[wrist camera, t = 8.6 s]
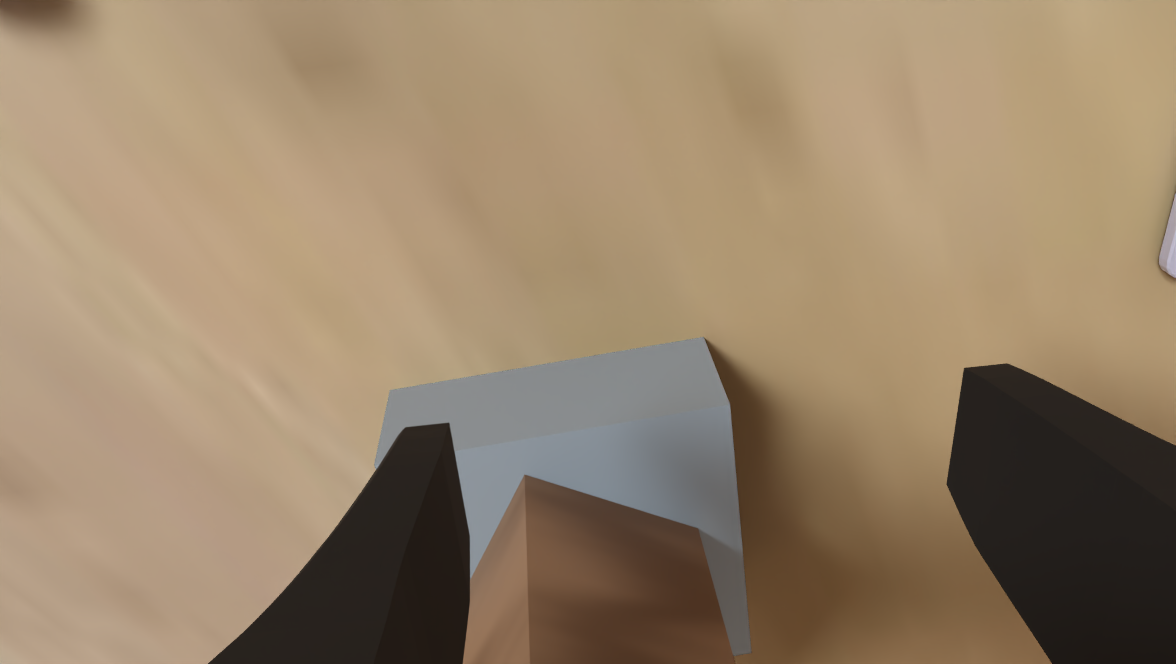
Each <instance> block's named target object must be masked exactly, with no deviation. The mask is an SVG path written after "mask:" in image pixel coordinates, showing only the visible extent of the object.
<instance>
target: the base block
mask: <svg viewBox="0 0 1176 664" xmlns="http://www.w3.org/2000/svg"><path fill="white" fill-rule="evenodd" d="M440 423H449V424H450V429H451V435H452V440H453V446H454V451H455V457H456V462H457V468H458V473H459V479H460V484H461V490H462V496H463V501H464V507H465V512H466V518H467V523H468V529H469V534H470V579H471V577H472V575H473V573H474V571H475V569H476V567H477V566H478V564H479V562H480V560H481V558H482V556H483V554H484V552H485V550H486V548H487V546H488V544H489V542H490V540H491V538H492V536H493V535H494V533H495V531H496V529H497V527H498V525H499V523H500V521H501V519H502V517H503V515H504V513H505V511H506V509H507V507H508V506H509V504H510V502H511V500H512V498H513V496H514V494H515V492H516V490H517V488H518V486H519V484H520V482H521V480H522V478H523V476H524V475H528V476H531V477H534V478H538V479H541V480H544V481H547V482H550V483H554V484H557V485H560V486H563V487H566V488H570V489H573V490H576V491H579V492H583V493H586V494H589V495H592V496H595V497H599V498H602V499H605V500H608V501H612V502H615V503H618V504H621V505H624V506H628V507H631V508H634V509H637V510H641V511H644V512H647V513H650V514H653V515H657V516H660V517H663V518H666V519H670V520H673V521H676V522H679V523H682V524H686V525H689V526H692V527H695V528H698V530H699V533H700V537H701V541H702V544H703V548H704V551H705V555H706V559H707V562H708V566H709V570H710V573H711V577H712V581H713V584H714V588H715V591H716V595H717V599H718V602H719V606H720V610H721V613H722V617H723V621H724V624H725V628H726V631H727V635H728V639H729V642H730V646H731V650H732V653H733V656H737V655H743V654H749V653H752V652H751V640H750V629H749V617H748V606H747V594H746V583H745V571H744V560H743V548H742V537H741V525H740V514H739V502H738V490H737V479H736V467H735V456H734V444H733V433H732V421H731V410H730V403H729V401H728V398H727V395H726V393H725V390H724V388H723V385H722V383H721V380H720V378H719V375H718V372H717V370H716V367H715V365H714V362H713V360H712V357H711V355H710V352H709V349H708V347H707V344H706V342H705V339H704V337H701V338H695V339H689V340H683V341H677V342H671V343H665V344H660V345H654V346H648V347H642V348H636V349H630V350H624V351H618V352H612V353H607V354H601V355H595V356H589V357H583V358H577V359H571V360H565V361H559V362H554V363H548V364H542V365H536V366H530V367H524V368H518V369H512V370H506V371H500V372H495V373H489V374H483V375H477V376H471V377H465V378H459V379H453V380H447V381H442V382H436V383H430V384H424V385H418V386H412V387H406V388H400V389H394V390H390V392H389V397H388V402H387V407H386V411H385V416H384V421H383V426H382V430H381V435H380V440H379V445H378V449H377V454H376V459H375V464H374V465H375V468H376V469H377V468H378V466H379V465H380V463H381V462H382V460H383V458H384V457H385V455H386V454H387V452H388V450H389V449H390V447H391V446H392V444H393V443H394V441H395V439H396V438H397V436H398V435H399V434H400V432H401V431H402V430H403V429H404V428H405V427H411V426H421V425H430V424H440Z"/></svg>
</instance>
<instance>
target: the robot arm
mask: <svg viewBox="0 0 1176 664" xmlns="http://www.w3.org/2000/svg"><path fill="white" fill-rule="evenodd" d="M1159 265H1160V267H1161V269H1162V270H1163V271H1165V272H1166V273H1168V274H1170V275H1171V276H1173V277H1174V278H1176V194H1175V198H1174V202H1173V205H1172V209H1171V213H1170V217H1169V221H1168V225H1167V229H1166V233H1165V237H1164V240H1163V244H1162V248H1161V252H1160V256H1159ZM947 486H948V488H949V491H950V493H951V495H952V497H953V500H954V502H955V504H956V506H957V509H958V511H959V513H960V515H961V518H962V520H963V522H964V524H965V526H966V528H967V530H968V532H969V534H970V536H971V538H972V540H973V542H974V544H975V546H976V548H977V549H978V551H979V552H980V554H981V556H982V557H983V559H984V560H985V562H986V563H987V565H988V567H989V568H990V570H991V571H992V573H993V574H994V576H995V577H996V579H997V580H998V582H999V584H1000V585H1001V587H1002V588H1003V590H1004V591H1005V593H1006V594H1007V596H1008V597H1009V599H1010V600H1011V602H1012V603H1013V605H1014V606H1015V608H1016V609H1017V611H1018V612H1019V614H1020V615H1021V617H1022V618H1023V620H1024V622H1025V623H1026V625H1027V626H1028V628H1029V629H1030V631H1031V632H1032V634H1033V635H1034V637H1035V638H1036V640H1037V641H1038V643H1039V644H1040V646H1041V647H1042V649H1043V650H1044V652H1045V653H1046V655H1047V656H1048V658H1049V659H1050V661H1051V662H1052V664H1176V446H1175V445H1173V444H1171V443H1169V442H1167V441H1165V440H1162V439H1160V438H1158V437H1156V436H1154V435H1152V434H1150V433H1148V432H1146V431H1144V430H1142V429H1140V428H1138V427H1136V426H1134V425H1132V424H1130V423H1128V422H1126V421H1124V420H1122V419H1120V418H1118V417H1116V416H1114V415H1112V414H1110V413H1108V412H1106V411H1104V410H1102V409H1100V408H1098V407H1096V406H1094V405H1092V404H1090V403H1088V402H1087V401H1085V400H1083V399H1081V398H1079V397H1077V396H1075V395H1073V394H1071V393H1069V392H1067V391H1065V390H1063V389H1061V388H1059V387H1057V386H1055V385H1053V384H1051V383H1049V382H1047V381H1045V380H1043V379H1041V378H1039V377H1037V376H1035V375H1033V374H1030V373H1028V372H1026V371H1024V370H1022V369H1019V368H1017V367H1014V366H1012V365H1010V364H998V365H988V366H979V367H969V368H964V372H963V379H962V386H961V392H960V399H959V405H958V412H957V419H956V425H955V432H954V438H953V445H952V452H951V458H950V465H949V472H948V478H947ZM469 606H470V534H469V529H468V523H467V518H466V512H465V507H464V501H463V496H462V490H461V484H460V479H459V473H458V468H457V462H456V457H455V451H454V446H453V440H452V435H451V429H450V424H449V423H440V424H430V425H421V426H411V427H405V428H404V429H403V430H402V431H401V432H400V434H399V435H398V436H397V438H396V439H395V441H394V443H393V444H392V446H391V447H390V449H389V450H388V452H387V454H386V455H385V457H384V458H383V460H382V462H381V463H380V465H379V466H378V468H377V469H376V471H375V472H374V474H373V475H372V477H371V478H370V480H369V481H368V483H367V484H366V486H365V487H364V489H363V490H362V492H361V493H360V494H359V496H358V497H357V499H356V500H355V501H354V503H353V504H352V506H351V507H350V508H349V510H348V511H347V513H346V514H345V515H344V517H343V518H342V520H341V521H340V522H339V524H338V525H337V526H336V528H335V529H334V530H333V532H332V533H331V534H330V536H329V537H328V538H327V539H326V541H325V542H324V543H323V544H322V545H321V547H320V548H319V549H318V550H317V552H316V553H315V554H314V555H313V557H312V558H311V559H310V560H309V562H308V563H307V564H306V565H305V566H304V568H303V569H302V570H301V571H300V573H299V574H298V575H297V576H296V577H295V578H294V580H293V581H292V582H291V583H290V584H289V585H288V586H287V587H286V589H285V590H284V591H283V592H282V593H281V594H280V595H279V596H278V597H277V598H276V600H275V601H274V602H273V603H272V604H271V605H270V606H269V607H268V608H267V609H266V610H265V611H264V612H263V613H262V614H261V615H260V616H259V617H258V618H257V619H256V620H255V621H254V622H253V623H252V624H251V625H250V626H249V627H248V628H247V629H246V630H245V631H244V632H243V633H242V634H241V635H240V636H239V637H238V638H236V639H235V640H234V641H233V642H232V643H231V644H230V645H229V646H227V647H226V648H225V649H224V650H223V651H222V652H221V653H219V654H218V655H217V656H216V657H215V658H214V659H213V660H212V661H210V662H209V663H208V664H463V658H464V649H465V641H466V632H467V624H468V615H469Z"/></svg>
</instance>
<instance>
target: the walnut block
mask: <svg viewBox="0 0 1176 664" xmlns="http://www.w3.org/2000/svg"><path fill="white" fill-rule="evenodd" d="M463 664H735V661H734V657H733V653H732V650H731V646H730V642H729V639H728V635H727V631H726V628H725V624H724V621H723V617H722V613H721V610H720V606H719V602H718V599H717V595H716V591H715V588H714V584H713V581H712V577H711V573H710V570H709V566H708V562H707V559H706V555H705V551H704V548H703V544H702V541H701V537H700V533H699V530H698V528H695V527H692V526H689V525H686V524H682V523H679V522H676V521H673V520H670V519H666V518H663V517H660V516H657V515H653V514H650V513H647V512H644V511H641V510H637V509H634V508H631V507H628V506H624V505H621V504H618V503H615V502H612V501H608V500H605V499H602V498H599V497H595V496H592V495H589V494H586V493H583V492H579V491H576V490H573V489H570V488H566V487H563V486H560V485H557V484H554V483H550V482H547V481H544V480H541V479H538V478H534V477H531V476H528V475H524V476H523V478H522V480H521V482H520V484H519V486H518V488H517V490H516V492H515V494H514V496H513V498H512V500H511V502H510V504H509V506H508V507H507V509H506V511H505V513H504V515H503V517H502V519H501V521H500V523H499V525H498V527H497V529H496V531H495V533H494V535H493V536H492V538H491V540H490V542H489V544H488V546H487V548H486V550H485V552H484V554H483V556H482V558H481V560H480V562H479V564H478V566H477V567H476V569H475V571H474V573H473V575H472V577H471V579H470V606H469V615H468V624H467V632H466V641H465V649H464V658H463Z"/></svg>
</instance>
